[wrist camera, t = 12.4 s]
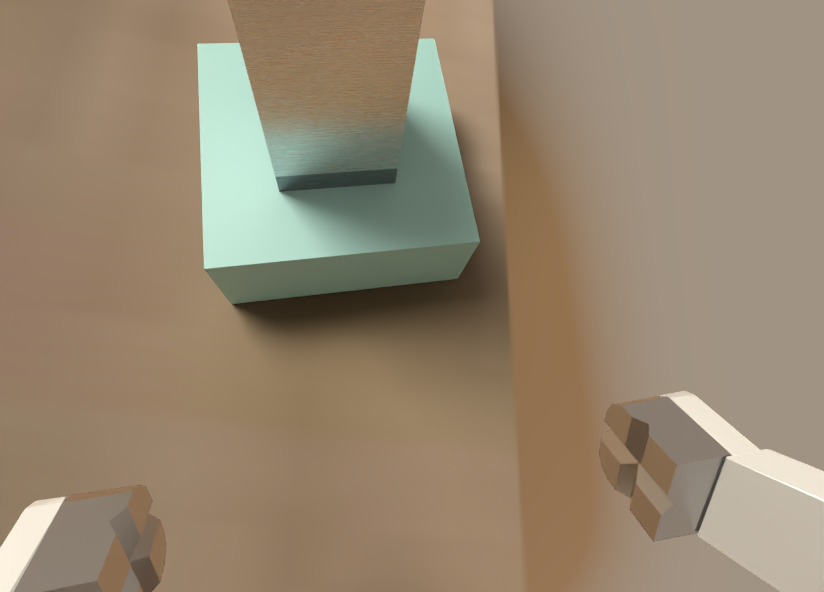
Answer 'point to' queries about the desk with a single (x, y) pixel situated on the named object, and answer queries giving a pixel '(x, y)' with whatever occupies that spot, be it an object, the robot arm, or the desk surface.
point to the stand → (327, 198)
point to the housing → (330, 85)
